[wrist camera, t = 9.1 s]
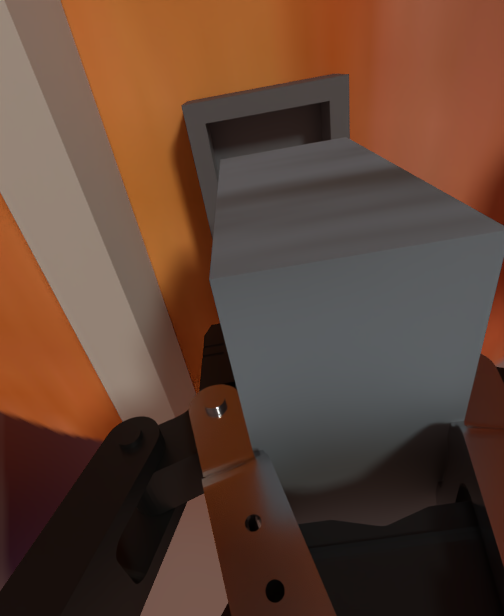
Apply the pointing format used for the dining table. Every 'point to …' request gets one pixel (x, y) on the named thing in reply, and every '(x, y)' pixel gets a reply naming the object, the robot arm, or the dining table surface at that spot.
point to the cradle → (263, 124)
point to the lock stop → (350, 322)
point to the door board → (82, 214)
